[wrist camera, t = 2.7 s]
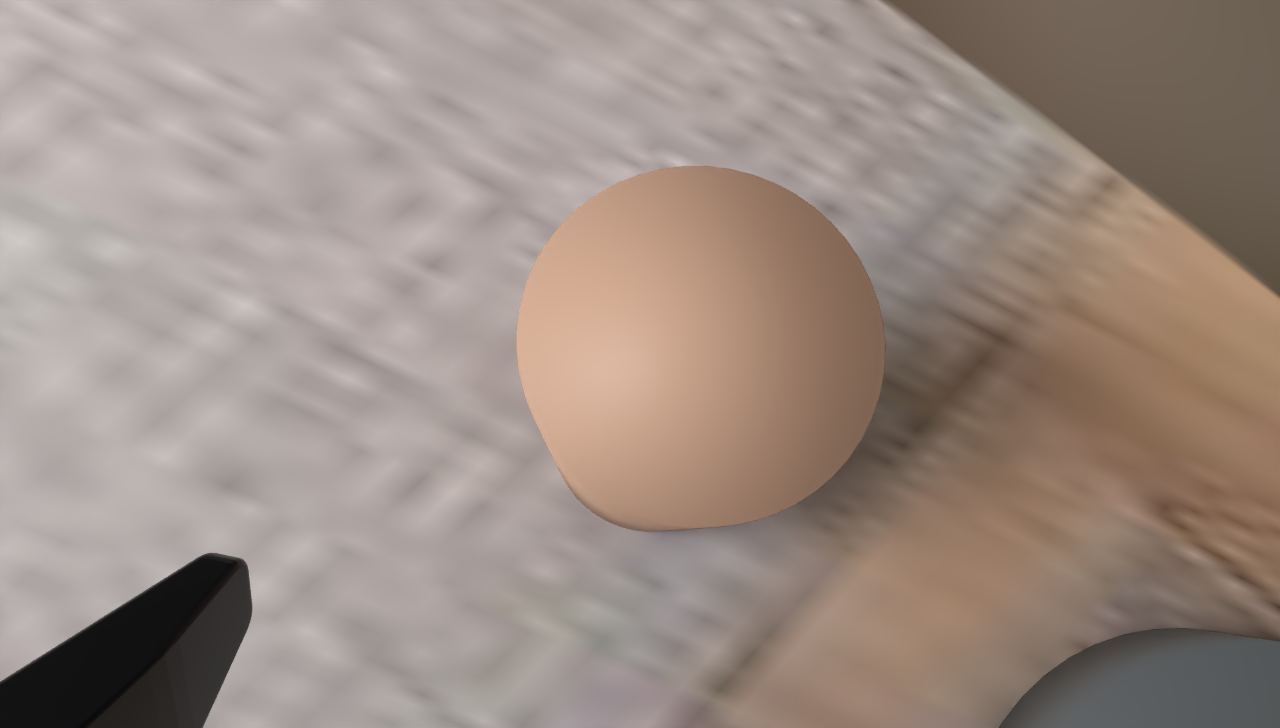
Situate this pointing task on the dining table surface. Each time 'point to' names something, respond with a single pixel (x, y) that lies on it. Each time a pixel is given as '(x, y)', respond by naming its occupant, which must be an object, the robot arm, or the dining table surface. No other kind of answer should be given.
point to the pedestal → (1159, 684)
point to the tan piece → (699, 349)
